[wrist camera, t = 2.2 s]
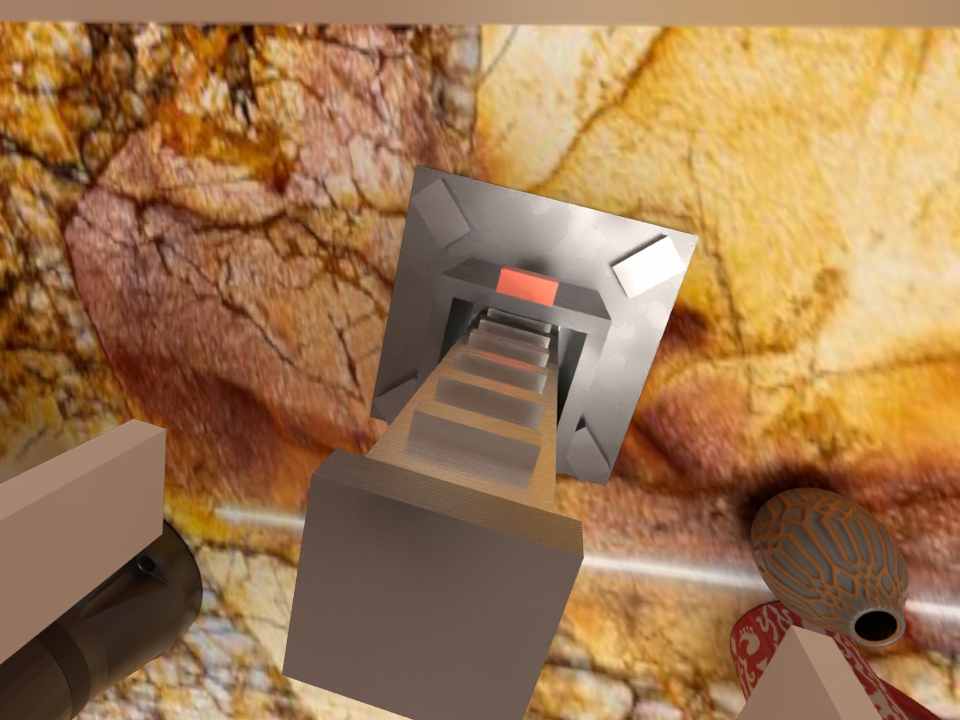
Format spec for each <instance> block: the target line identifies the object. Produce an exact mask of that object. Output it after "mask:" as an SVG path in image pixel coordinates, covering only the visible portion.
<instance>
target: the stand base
mask: <svg viewBox="0 0 960 720" xmlns="http://www.w3.org/2000/svg"><path fill="white" fill-rule="evenodd" d="M698 238H699V236H696V235H692V234H688V233H684V232H680V231H676V230H672V229H669V228H665V227H661V226H657V225H653V224H649V223H645V222H641V221H637V220H633V219H629V218H625V217H621V216H617V215H613V214H609V213H605V212H601V211H597V210H593V209H589V208H585V207H581V206H577V205H573V204H569V203H566V202H562V201H558V200H554V199H550V198H546V197H542V196H538V195H534V194H530V193H526V192H522V191H518V190H514V189H510V188H506V187H502V186H498V185H494V184H490V183H486V182H482V181H478V180H474V179H470V178H467V177H463V176H459V175H455V174H451V173H447V172H443V171H439V170H435V169H431V168H427V167H423V166H419V165H416V170H415V175H414V180H413V186H412V191H411V197H410V202H409V207H408V213H407V218H406V224H405V229H404V234H403V240H402V245H401V251H400V256H399V261H398V267H397V272H396V278H395V283H394V288H393V294H392V299H391V305H390V310H389V315H388V321H387V326H386V332H385V337H384V342H383V348H382V353H381V359H380V364H379V369H378V375H377V380H376V386H375V391H374V396H373V402H372V407H371V413H370V417H373V418H377V419H380V420H383V421H387V423H388V424H389V426H390V425H391V424H392V422H393V421H394V420H395V418H396V417H397V416H398V415H399V413H400V412H401V411H402V410H403V408H404V407H405V406H406V405H407V403H408V402H409V401H410V400H411V398H412V397H413V396H414V394H415V393H416V392H417V391H418V389H419V388H420V387H421V386H422V384H423V383H424V382H425V381H426V379H427V378H428V377H429V376H430V374H431V373H432V372H433V371H434V369H435V368H436V367H437V365H438V364H439V363H440V362H441V360H442V359H443V358H444V357H445V355H446V354H447V353H448V352H449V350H450V349H451V348H452V347H453V345H454V344H455V343H456V342H457V340H458V339H459V338H460V336H461V335H462V334H463V333H464V331H465V330H466V329H467V328H468V326H469V325H470V324H471V323H472V321H473V320H474V319H475V318H476V316H477V315H478V314H479V313H480V311H481V310H482V309H483V307H484V306H488V307H492V308H495V309H499V310H503V311H506V312H510V313H514V314H517V315H521V316H525V317H529V318H532V319H536V320H540V321H543V322H547V323H551V324H554V325H558V326H560V330H559V339H558V384H557V429H556V473H558V474H561V473H563V474H567V475H570V476H574V477H577V478H579V480H580V482H581V483H583V482H585V481H590V482H594V483H597V484H601V485H604V486H606V485H607V482H608V479H609V477H610V474H611V471H612V469H613V466H614V463H615V461H616V458H617V455H618V453H619V450H620V447H621V444H622V442H623V439H624V436H625V434H626V431H627V428H628V426H629V423H630V420H631V418H632V415H633V412H634V410H635V407H636V404H637V402H638V399H639V396H640V393H641V391H642V388H643V385H644V383H645V380H646V377H647V375H648V372H649V369H650V367H651V364H652V361H653V359H654V356H655V353H656V351H657V348H658V345H659V342H660V340H661V337H662V334H663V332H664V329H665V326H666V324H667V321H668V318H669V316H670V313H671V310H672V308H673V305H674V302H675V300H676V297H677V294H678V291H679V289H680V286H681V283H682V281H683V278H684V275H685V273H686V270H687V267H688V265H689V262H690V259H691V257H692V254H693V251H694V249H695V246H696V243H697V240H698Z"/></svg>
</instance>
